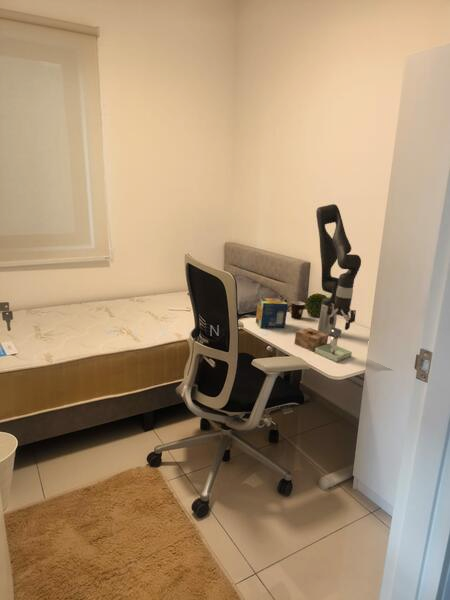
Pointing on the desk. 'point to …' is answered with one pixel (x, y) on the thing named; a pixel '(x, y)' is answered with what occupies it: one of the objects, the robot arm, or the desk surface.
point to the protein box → (271, 313)
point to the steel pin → (334, 340)
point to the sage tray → (339, 353)
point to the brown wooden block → (310, 339)
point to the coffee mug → (296, 309)
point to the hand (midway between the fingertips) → (338, 326)
